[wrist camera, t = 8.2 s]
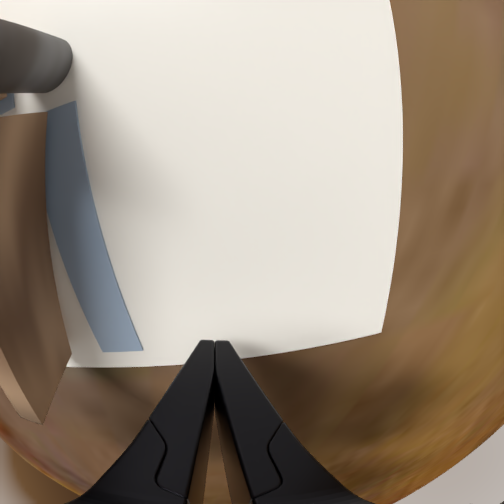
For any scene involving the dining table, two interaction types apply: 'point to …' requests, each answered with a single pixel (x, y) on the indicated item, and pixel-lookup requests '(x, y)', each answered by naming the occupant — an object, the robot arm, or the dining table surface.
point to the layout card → (219, 173)
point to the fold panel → (27, 273)
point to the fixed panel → (31, 60)
